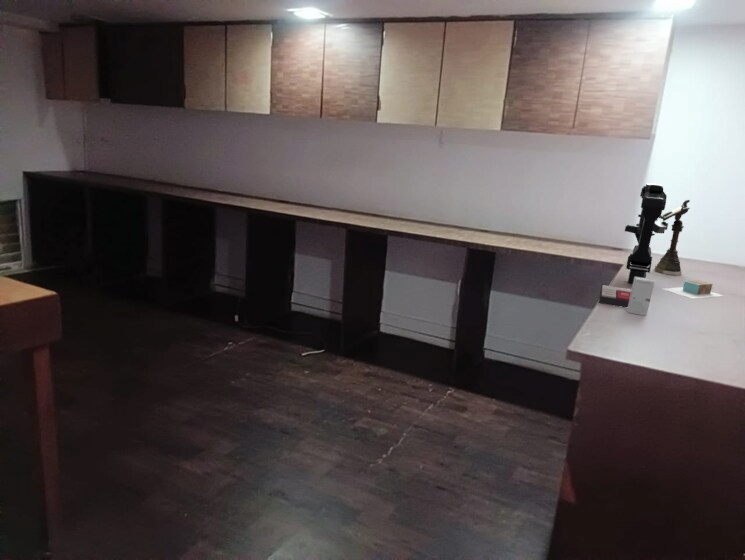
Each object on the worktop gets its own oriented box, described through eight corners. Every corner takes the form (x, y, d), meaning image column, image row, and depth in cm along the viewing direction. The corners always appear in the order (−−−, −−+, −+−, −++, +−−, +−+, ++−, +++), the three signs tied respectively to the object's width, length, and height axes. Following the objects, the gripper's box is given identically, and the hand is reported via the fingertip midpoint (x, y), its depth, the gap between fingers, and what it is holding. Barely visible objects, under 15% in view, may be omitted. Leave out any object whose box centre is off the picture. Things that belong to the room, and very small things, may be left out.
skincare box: (628, 313, 196) (635, 279, 193) (626, 309, 200) (633, 276, 197) (647, 316, 194) (654, 281, 191) (645, 312, 198) (652, 278, 195)
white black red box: (600, 294, 204) (601, 283, 218) (598, 305, 206) (599, 293, 219) (633, 299, 200) (632, 288, 214) (631, 311, 202) (630, 299, 215)
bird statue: (644, 271, 266) (659, 196, 257) (642, 266, 278) (656, 194, 269) (683, 277, 261) (700, 201, 252) (679, 271, 273) (695, 198, 264)
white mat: (692, 299, 221) (692, 298, 221) (660, 289, 233) (661, 288, 233) (724, 296, 230) (724, 295, 230) (692, 287, 242) (692, 286, 242)
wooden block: (698, 285, 227) (712, 283, 231) (684, 281, 232) (698, 280, 236) (696, 294, 228) (710, 293, 232) (682, 290, 233) (696, 289, 237)
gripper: (649, 216, 234) (642, 253, 238) (679, 216, 243) (671, 252, 247) (627, 211, 244) (620, 247, 248) (656, 212, 252) (649, 246, 256)
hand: (641, 248), depth 249 cm, fingers closed
